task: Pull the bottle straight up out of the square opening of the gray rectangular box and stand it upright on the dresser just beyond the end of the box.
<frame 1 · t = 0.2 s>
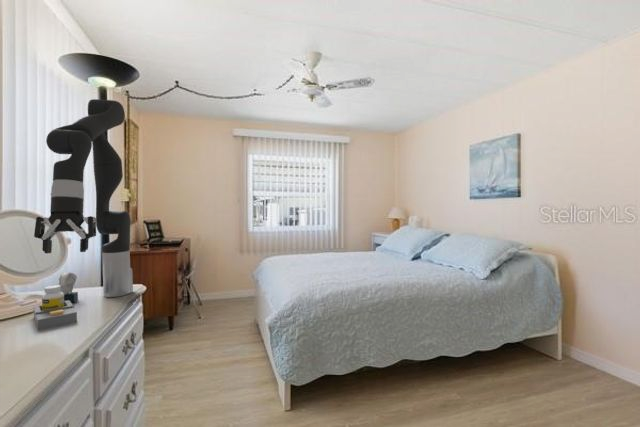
hand: (65, 252, 92), 22 cm above the dresser top, tool pointing down, fingers open, 8 cm apart
stone bust sculpture: (66, 303, 117), on the dresser top
gray rectangular box: (55, 319, 100), on the dresser top
supplement bottle: (53, 317, 102), resting in gray rectangular box
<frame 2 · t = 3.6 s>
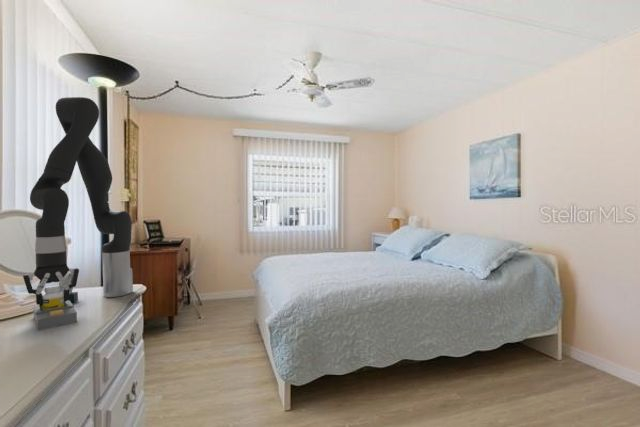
hand: (53, 303, 102), 4 cm above the dresser top, tool pointing down, fingers closed on supplement bottle, 5 cm apart
supplement bottle: (53, 317, 102), resting in gray rectangular box, touching gripper
everything else where it was.
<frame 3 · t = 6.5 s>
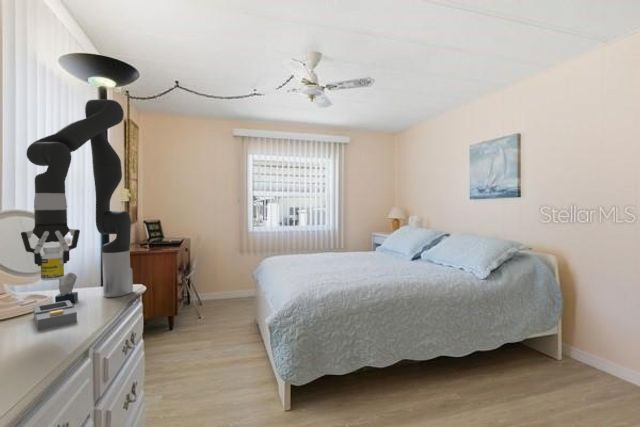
hand: (52, 264, 97), 18 cm above the dresser top, tool pointing down, fingers closed on supplement bottle, 5 cm apart
supplement bottle: (52, 279, 97), point 13 cm above the dresser top, touching gripper
everything else where it was.
when the fingers open (6 cm above the dresser top, at t = 9.8 s): supplement bottle drops 1 cm, on the dresser top.
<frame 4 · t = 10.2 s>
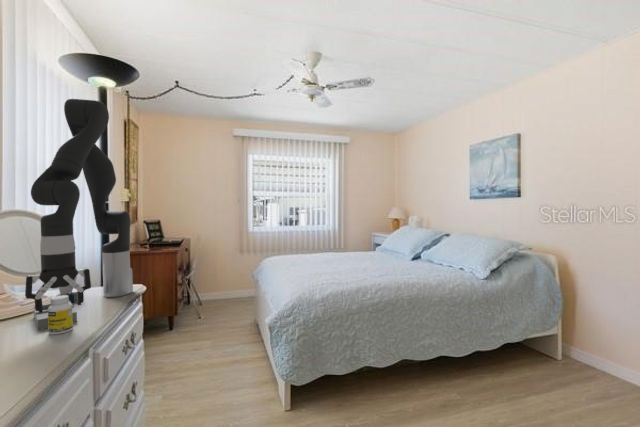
hand: (60, 308, 90), 7 cm above the dresser top, tool pointing down, fingers open, 8 cm apart
supplement bottle: (61, 331, 90), on the dresser top
everything else where it was.
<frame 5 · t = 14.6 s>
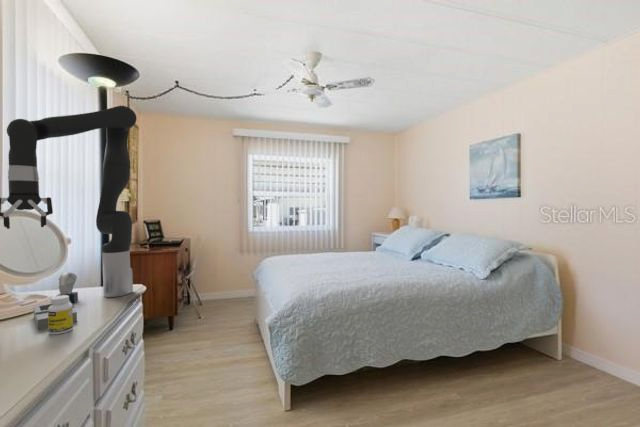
hand: (25, 227, 108), 28 cm above the dresser top, tool pointing down, fingers open, 8 cm apart
nothing on the dresser top moved.
at the end: supplement bottle 0.1 cm from the target spot, on the dresser top; supplement bottle tilted 0°; the gripper is holding nothing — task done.
